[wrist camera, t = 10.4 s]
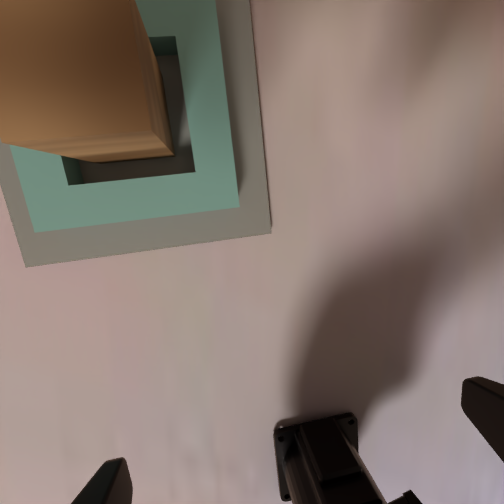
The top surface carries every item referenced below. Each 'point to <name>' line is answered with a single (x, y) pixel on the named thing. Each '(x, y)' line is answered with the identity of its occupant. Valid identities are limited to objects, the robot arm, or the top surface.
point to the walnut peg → (81, 81)
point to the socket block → (158, 169)
